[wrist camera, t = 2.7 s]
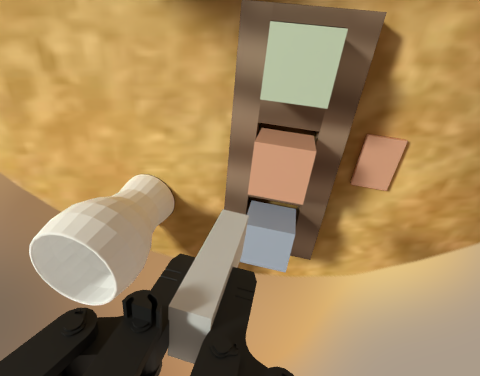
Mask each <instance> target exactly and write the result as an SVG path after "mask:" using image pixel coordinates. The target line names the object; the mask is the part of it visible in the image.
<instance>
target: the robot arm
mask: <svg viewBox="0 0 480 376" xmlns="http://www.w3.org/2000/svg"><path fill="white" fill-rule="evenodd" d="M248 218H249V215H245V214H240V213H236V212H232V211H228V210H222V212H221V213H220V215H219V217H218V219H217V221H216V222H215V224H214V226H213V228H212V229H211V231H210V233H209V235H208V237H207V238H206V240H205V242H204V244H203V246H202V247H201V249H200V251H199V253H198V254H197V256H196V258H195V257H191V256H188V255H184V254H179V255H178V256H176V257H175V258H173V259H172V260H171V261H170V263H169V264H168V266H167V267H166V269H165V270H164V272H163V273H162V274H161V277H159V279H158V280H157V282H156V283H155V285H154V286H153V288H152V289H151V291H150V290H140V291H136V292H134V293H132V294H130V295H128V296H127V297H126V298H125V299H124V300H123V301H122V302H123V312H124V316H120V317H99V318H97V315H96V313H95V312H94V311H93V310H91V309H88V308H76V309H74V310H70V311H68V312H66V313H65V314H63V315H61V316H60V317H58V318H57V319H56V320H54V321H53V322H52V323H50V324H49V325H48V326H47V327H45V328H44V329H43V330H42V331H40V332H39V333H37V334H36V335H35V336H33V337H32V338H31V339H29V340H28V341H27V342H25V343H24V344H23V345H21V346H20V347H19V348H18V349H16V350H15V351H13V352H12V353H11V354H9V355H8V356H7V357H5V358H4V359H3V360H2V361H0V376H158V375H159V373H160V371H161V367H162V359H163V357H164V355H165V353H166V351H167V349H168V355H169V356H172V357H175V358H178V359H181V360H184V361H187V362H191V363H193V364H194V367H193V370H192V372H191V375H190V376H294V375H293V374H292V373H290V372H289V371H288V370H286V369H284V368H280V367H271V368H267V367H266V366H264V365H263V364H261V363H260V362H259V361H257V360H256V359H255V358H254V357H253V356H252V354H251V353H250V352H249V350H248V347H247V345H246V339H245V338H246V330H247V325H248V321H249V316H250V311H251V307H252V302H253V297H254V292H255V287H256V283H257V281H256V278H255V274H254V272H251V271H247V270H243V269H239V268H238V265H239V262H240V259H241V256H242V252H243V246H244V240H245V235H246V229H247V223H248Z"/></svg>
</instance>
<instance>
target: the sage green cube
mask: <svg viewBox="0 0 480 376" xmlns="http://www.w3.org/2000/svg"><path fill="white" fill-rule="evenodd" d="M347 31H348V29H346V28H336V27H325V26H315V25H305V24H294V23H284V22H274V21H270V28H269V36H268V43H267V51H266V58H265V66H264V74H263V81H262V89H261V96H260V99H261V100H268V101H275V102H283V103H290V104H297V105H304V106H311V107H319V108H326V109H328V105H329V101H330V97H331V93H332V89H333V85H334V81H335V77H336V74H337V70H338V66H339V62H340V58H341V54H342V50H343V46H344V42H345V38H346V35H347Z"/></svg>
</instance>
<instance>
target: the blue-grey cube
mask: <svg viewBox="0 0 480 376" xmlns="http://www.w3.org/2000/svg"><path fill="white" fill-rule="evenodd" d="M247 215H249V218H248V223H247V229H246V235H245V240H244V246H243V252H242V256H241V259H240V262H242V263H247V264H251V265H256V266H260V267H264V268H269V269H273V270H278V271H282V272H286V269H287V265H288V261H289V257H290V253H291V249H292V245H293V241H294V238H295V226H296V209H293V208H288V207H283V206H278V205H273V204H268V203H262V202H257V201H251V204H250V207H249V210H248V213H247Z"/></svg>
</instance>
